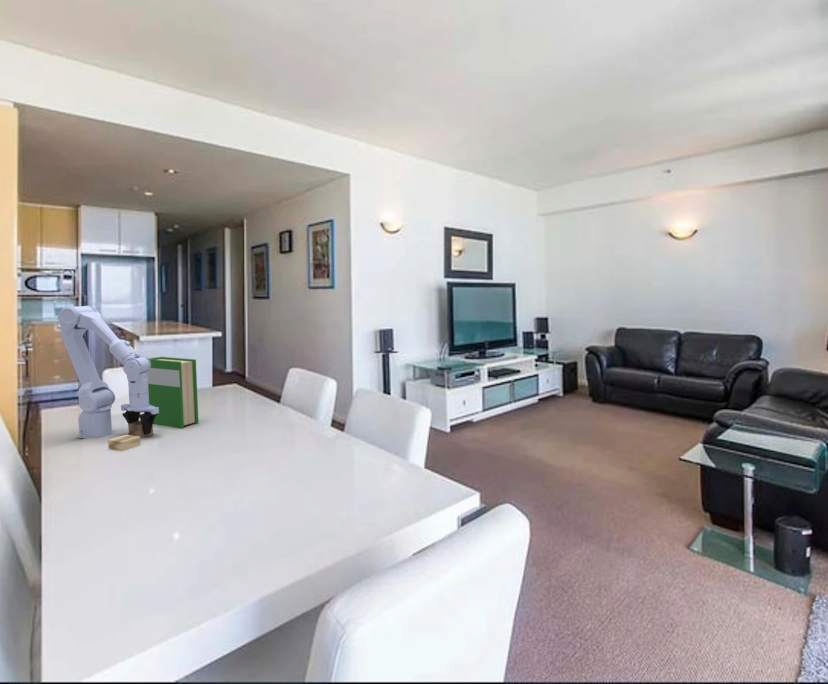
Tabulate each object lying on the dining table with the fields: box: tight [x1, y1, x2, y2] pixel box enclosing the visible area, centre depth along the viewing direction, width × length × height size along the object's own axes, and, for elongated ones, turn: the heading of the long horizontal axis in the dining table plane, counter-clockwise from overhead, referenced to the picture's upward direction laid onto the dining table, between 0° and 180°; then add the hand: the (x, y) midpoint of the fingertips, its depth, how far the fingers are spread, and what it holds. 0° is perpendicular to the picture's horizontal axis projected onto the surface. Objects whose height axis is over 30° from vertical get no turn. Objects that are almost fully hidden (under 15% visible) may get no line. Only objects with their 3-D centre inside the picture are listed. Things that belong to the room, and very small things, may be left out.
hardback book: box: [148, 356, 199, 429], centre depth 176 cm, size 18×7×24 cm, turn 67°
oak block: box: [107, 434, 142, 452], centre depth 147 cm, size 6×6×3 cm
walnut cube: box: [127, 419, 154, 439], centre depth 160 cm, size 5×5×5 cm
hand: (141, 433), depth 160 cm, fingers closed on walnut cube, 5 cm apart
